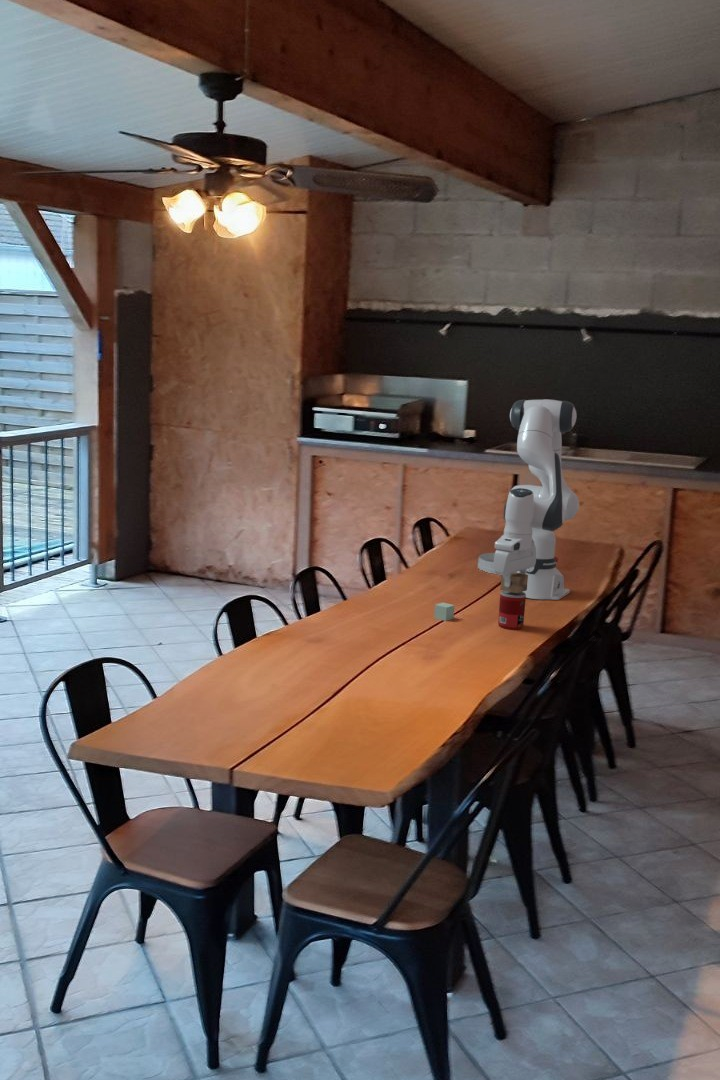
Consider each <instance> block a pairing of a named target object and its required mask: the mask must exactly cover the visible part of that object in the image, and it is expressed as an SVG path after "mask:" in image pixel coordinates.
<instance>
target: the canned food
mask: <svg viewBox="0 0 720 1080" xmlns="http://www.w3.org/2000/svg"><path fill="white" fill-rule="evenodd" d="M526 600H527V599H526V594H525V593H524V592H520V593H513V592H509V591H504V590H501V591H500V595H499V606H498V607H499V608H498V620H497V621H498V622H497V623H498V627H500V628H501V629H503V630H504V629H505V630H513V631H514V630H515V631H519V630H521V629H523V627H524V622H525V612H526Z"/></svg>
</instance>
